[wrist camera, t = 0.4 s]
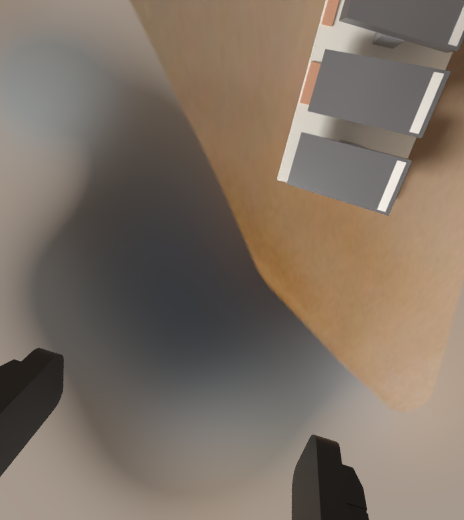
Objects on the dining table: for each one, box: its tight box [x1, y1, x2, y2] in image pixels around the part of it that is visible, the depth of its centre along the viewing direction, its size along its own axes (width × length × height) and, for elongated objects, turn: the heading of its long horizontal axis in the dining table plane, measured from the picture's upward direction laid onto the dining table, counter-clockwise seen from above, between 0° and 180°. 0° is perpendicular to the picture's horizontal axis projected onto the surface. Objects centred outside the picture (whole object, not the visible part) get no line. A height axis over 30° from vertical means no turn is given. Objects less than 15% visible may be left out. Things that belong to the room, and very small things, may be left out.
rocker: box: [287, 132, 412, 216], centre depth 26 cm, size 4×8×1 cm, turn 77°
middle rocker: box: [308, 49, 451, 138], centre depth 24 cm, size 4×8×1 cm, turn 78°
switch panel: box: [277, 0, 453, 182], centre depth 27 cm, size 16×10×4 cm, turn 168°
